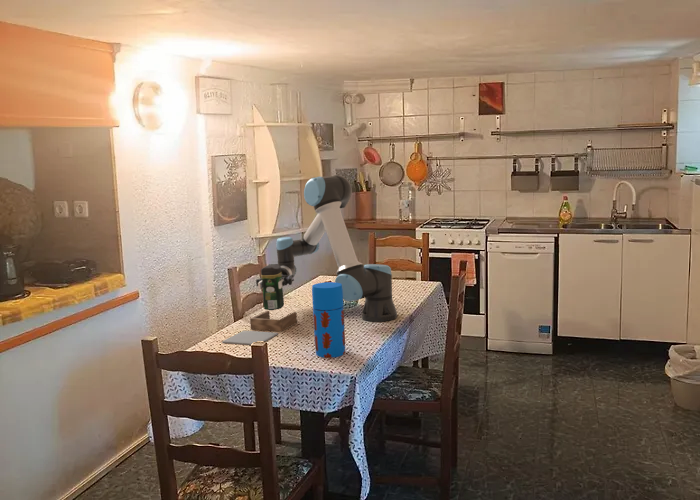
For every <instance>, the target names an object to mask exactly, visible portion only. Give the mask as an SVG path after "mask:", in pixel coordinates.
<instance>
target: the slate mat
mask: <svg viewBox="0 0 700 500" xmlns="http://www.w3.org/2000/svg"><path fill="white" fill-rule="evenodd" d="M278 335H279V332H274V331H259V330H257V331H256V330H242V331H240V332H238V333H235V334H233V335H232V336H230V337H228V338H226V339H224V340H222V341H221V342H222V343H223V344H233V345H247V346H252V345H251V344H252V343H253V342H257V341H266V342H267V341H268V340H271V339H273V338H274V337H276V336H278Z"/></svg>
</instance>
